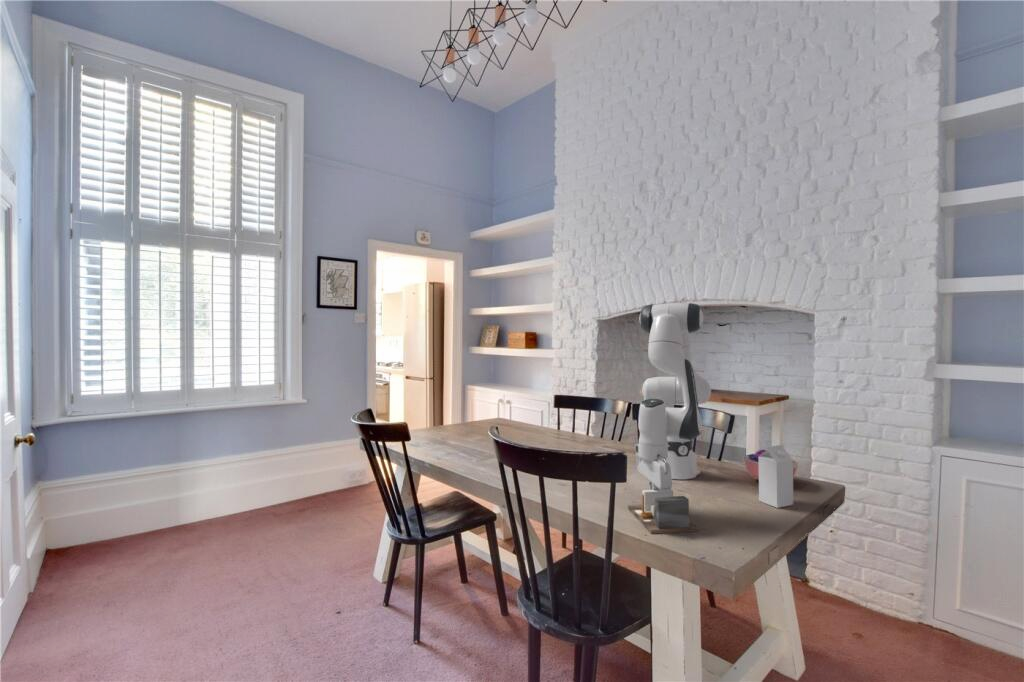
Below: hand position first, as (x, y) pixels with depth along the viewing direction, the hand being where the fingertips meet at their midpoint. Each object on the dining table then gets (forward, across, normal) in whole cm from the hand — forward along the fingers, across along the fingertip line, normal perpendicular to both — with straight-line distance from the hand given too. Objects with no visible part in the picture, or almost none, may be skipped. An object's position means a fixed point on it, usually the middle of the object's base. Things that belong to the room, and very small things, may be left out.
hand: (653, 494), depth 152 cm
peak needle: (+4, -6, +5) cm, 9 cm away
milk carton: (+6, +2, -42) cm, 43 cm away
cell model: (+6, +24, -54) cm, 59 cm away
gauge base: (+6, -5, 0) cm, 7 cm away
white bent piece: (+4, -6, 0) cm, 7 cm away
